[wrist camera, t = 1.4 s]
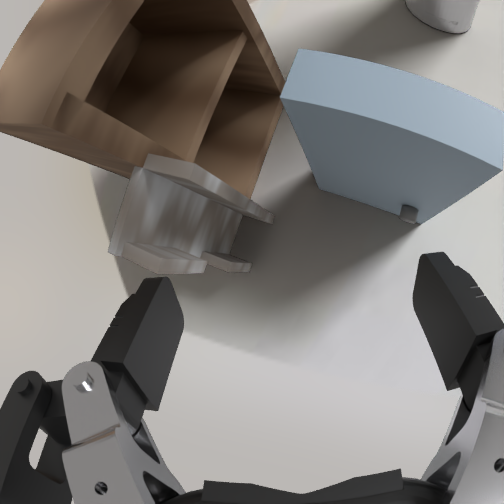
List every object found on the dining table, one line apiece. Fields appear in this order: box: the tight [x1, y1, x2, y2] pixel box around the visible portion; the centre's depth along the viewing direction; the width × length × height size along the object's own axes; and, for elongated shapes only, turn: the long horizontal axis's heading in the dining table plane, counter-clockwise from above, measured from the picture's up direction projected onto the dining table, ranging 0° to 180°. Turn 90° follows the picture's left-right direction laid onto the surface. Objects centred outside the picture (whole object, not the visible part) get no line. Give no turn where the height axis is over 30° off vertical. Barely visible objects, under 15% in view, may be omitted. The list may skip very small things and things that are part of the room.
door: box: [280, 49, 504, 224], centre depth 18 cm, size 4×10×16 cm, turn 69°
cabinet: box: [0, 0, 285, 274], centre depth 20 cm, size 19×15×22 cm
